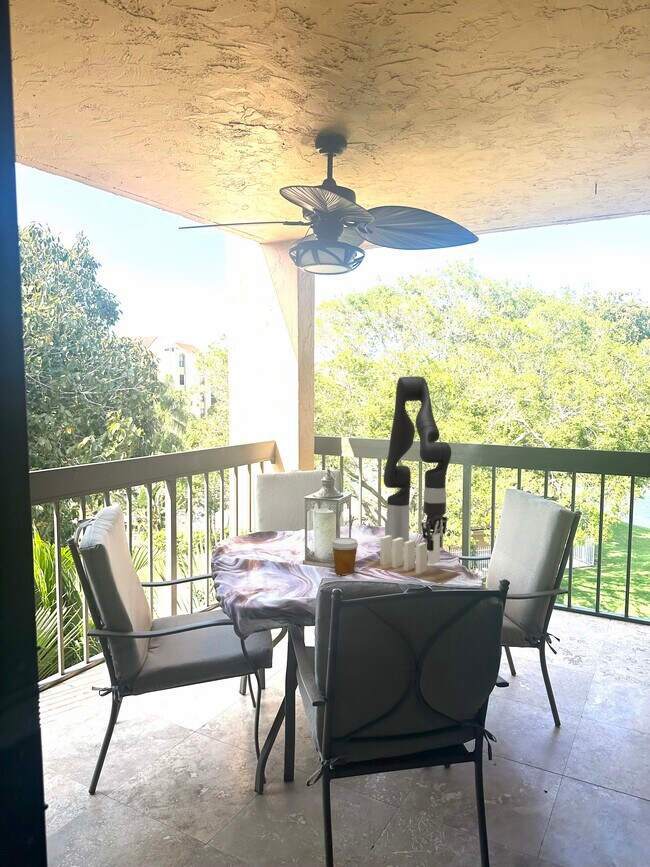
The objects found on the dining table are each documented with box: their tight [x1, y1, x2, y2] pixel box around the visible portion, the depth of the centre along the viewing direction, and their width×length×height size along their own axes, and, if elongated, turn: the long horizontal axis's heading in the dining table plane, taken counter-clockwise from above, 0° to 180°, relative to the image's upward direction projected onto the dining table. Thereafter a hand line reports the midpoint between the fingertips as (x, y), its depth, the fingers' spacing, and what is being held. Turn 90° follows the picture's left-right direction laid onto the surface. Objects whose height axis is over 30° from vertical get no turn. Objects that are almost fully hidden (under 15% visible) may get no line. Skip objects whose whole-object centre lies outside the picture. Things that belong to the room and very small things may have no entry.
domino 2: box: [392, 537, 404, 568], centre depth 207 cm, size 2×5×10 cm, turn 140°
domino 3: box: [403, 539, 416, 571], centre depth 204 cm, size 2×5×10 cm, turn 139°
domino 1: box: [379, 535, 392, 565], centre depth 210 cm, size 2×5×10 cm, turn 140°
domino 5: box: [428, 532, 441, 565], centre depth 197 cm, size 2×5×10 cm, turn 140°
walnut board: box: [364, 558, 462, 585], centre depth 203 cm, size 32×14×1 cm, turn 50°
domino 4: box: [415, 541, 428, 574], centre depth 200 cm, size 2×5×10 cm, turn 140°
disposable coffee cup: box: [331, 537, 359, 577], centre depth 201 cm, size 10×10×12 cm
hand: (434, 548), depth 197 cm, fingers closed on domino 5, 5 cm apart
